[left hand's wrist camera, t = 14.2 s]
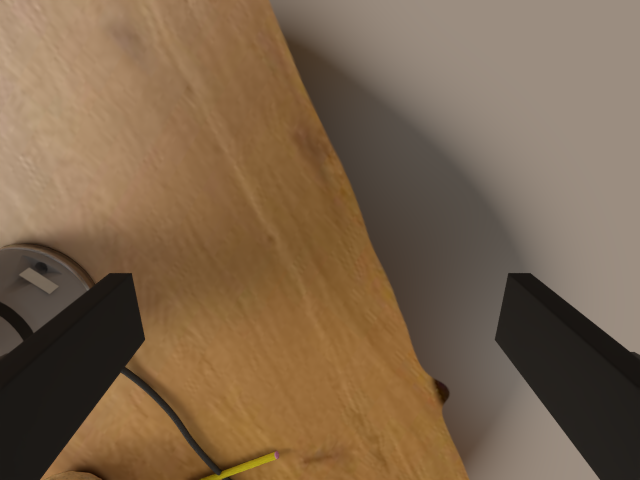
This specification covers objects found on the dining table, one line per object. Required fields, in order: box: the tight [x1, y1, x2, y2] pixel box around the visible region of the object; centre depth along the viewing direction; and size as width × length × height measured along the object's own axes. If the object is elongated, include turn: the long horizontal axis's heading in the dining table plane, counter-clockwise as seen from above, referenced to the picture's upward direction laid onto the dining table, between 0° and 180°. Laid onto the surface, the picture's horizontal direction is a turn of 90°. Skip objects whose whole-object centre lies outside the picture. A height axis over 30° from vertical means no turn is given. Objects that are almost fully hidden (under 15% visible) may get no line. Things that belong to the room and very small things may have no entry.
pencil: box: [199, 451, 279, 480], centre depth 55 cm, size 16×1×1 cm, turn 116°
